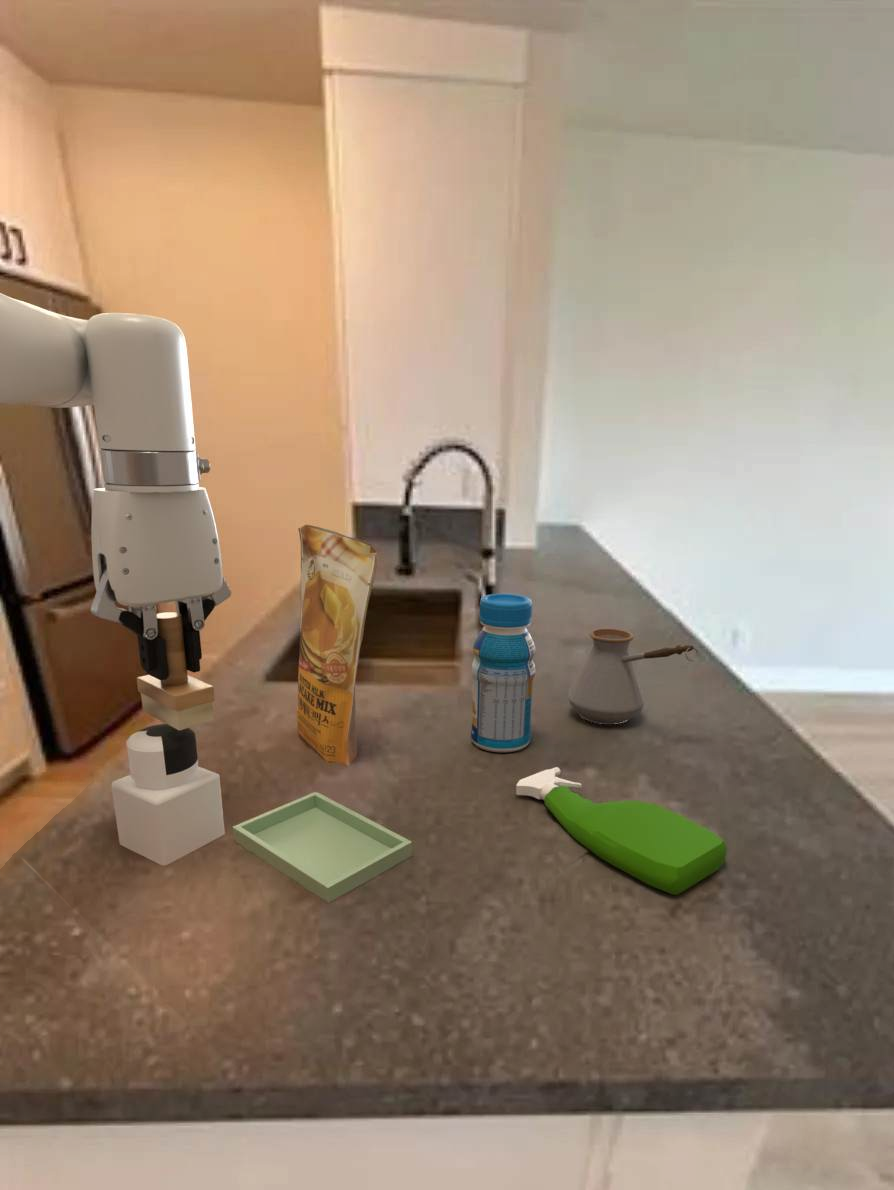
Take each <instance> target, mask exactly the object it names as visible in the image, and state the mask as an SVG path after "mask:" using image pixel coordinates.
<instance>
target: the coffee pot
mask: <svg viewBox="0 0 894 1190" xmlns="http://www.w3.org/2000/svg"><path fill="white" fill-rule="evenodd" d="M589 637H590V638H591V639H592V647H591V649H590V651H589V653H588V655H587V657H586V659H585V660H584V663H583V664H582V667H581V668H580V670H579V672H578V674H577V676H576V678H575V680H574V682H573V683H572V685H571V687H570V689H569V691H568V693H567V699H568V702H569V704H570V706H571V707H572V709H574V711H575V713H577V714H579V717H580V718H581V719H583V720H584V719H585V720H584V721H586V720H588V721H587V722H589V721H591V722H590V723H592V722H595V723H594V724H596V723H602V724H614V723H620V722H623V721H625V720H628V719H630V720H631V719H633V718H635V717H636V716H637V715H638V714H640V713H641V711H642V710H643V708H644V707H645V703H646V700H645V697H644V696H645V695H644V694H643V690H642V687H641V684H640V681H639V677H638V675H637V672H636V670H635V666H634V663H633V662H635V661H639V660H644V659H657V658H668V657H670V656H673V655H682V654H683V653H684V655H685V658H686V660H688V661H689V662H695V661H697V659H698V658H699V651H698V649H697V648H696V647H694V646H693V645H690V644H688V645H687V644H686V645H683V646H682V645H676V646H675V647H662V648H658V649H657V648H656V649H654V650H650V651H645V652H643V653H636V654H630V651H629V647H630V644H631V641H633V640H634V638H635V636H634V634H633V633H632V632H629V631H628V630H624V629H619V628H596V629H593V630H591V631H589ZM693 650H695V652H696V657H695V659H690V658H689V657H688V655H687V654H688V652H691V651H693Z"/></svg>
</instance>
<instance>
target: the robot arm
mask: <svg viewBox="0 0 894 1190" xmlns="http://www.w3.org/2000/svg"><path fill="white" fill-rule="evenodd" d="M189 370H190V369H189V359H188V348H187V342H186V338H185V335H184V333H183V331H182V329H181V328H180V327H179V326H178V324H176V323H175V322H173V321H171V320H168V319H166V318H162V317H158V316H154V315H148V314H139V313H127V312H104V313H99V314H95V315H92V316H91V317H89V319H81V318H78V317H71V316H68V315H67V316H66V315H65V314H64V315H63V314H60V313H57V312H54V311H50V310H47V309H45V308H42V307H39V306H37V305H34V304H31V303H28V302H25V301H23V300H20V299H16V298H12V296H11V297H10V296H8V295H6V294H4V293H2V292H0V404H5V405H15V406H36V407H41V408H57V409H60V408H61V409H63V408H64V409H65V408H66V409H67V408H80V407H89V406H93V410H94V416H95V425H96V431H97V441H98V448H99V455H100V461H101V462H100V464H101V471H102V477H103V487H99V488H97V487H96V488H93V495H92V503H91V504H92V505H91V506H92V507H91V531H90V533H91V537H90V538H91V559H92V561H91V562H92V573H93V581H94V588H95V590H96V592H95V595H94V598H93V601H92V605H91V607H90V613H91V615H92V616H95V617H97V618H100V619H102V620H107V621H110V622H114V623H119V624H121V625H122V626H123V627H125V628H126V629H128V630H129V631H130V632H131V633H132V634H135V635H136V636H137V645H138V652H139V660H140V661H139V662H140V666H141V669H143V670H144V671H145V673H146V675H150V676H152V677H155V678H157V679H159V680H165V679H167V677H169V672H168V663H167V654H166V645H165V640H164V638H161V637H159V633H158V626H157V614H158V612H157V605H158V604H159V605H160V604H165V603H171V602H174V603H175V604H174V605H175V610H176V611H175V612H176V613H180V614H181V616H182V626H183V636H184V645H185V655H186V665H187V671H188V672H190V673H194V674H195V673H198V672H200V671H201V662H200V661H201V660H202V658H203V653H202V652H203V651H202V644H201V634H200V633H201V632H200V631H202V630H203V629H205V626H206V623H205V622H206V620H207V618H208V617H209V616H210V615H211V613H212V612H213V610H214V609H215V607H216V606H219V605H221V604H222V603H223V602H225V601H227V600H228V599H229V598H230V597H231V596H232V590H231V588H230V587H229V585H228V583H227V581H226V579H225V577H224V576H223V575H224V573H223V572H224V571H223V560H222V552H221V546H220V545H221V544H220V539H219V534H218V528H217V524H216V520H215V516H214V512H213V508H212V505H211V501H210V498H209V494H208V492H207V489H206V487H202V486H200V482H201V475H202V474H209V473H210V471H211V463H210V461H209V459H208V458H206V457H204V458H203V457H202V458H201V457H200V456H199V451H196V439H195V438H196V437H195V429H194V428H195V426H194V414H193V404H192V393H191V383H190V382H191V381H190V371H189ZM116 601H117V603H118V604H119V605H122V606H124V607H128V610H127V609H124V608H121V607H117V605H116Z"/></svg>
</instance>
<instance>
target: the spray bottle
mask: <svg viewBox="0 0 894 1190" xmlns="http://www.w3.org/2000/svg"><path fill="white" fill-rule="evenodd" d="M559 775H561V769H560V768H559V767H557V766H556V767H552V768H548V769H544V770H541V771H539V772H536V773H534V774H531V775H529V776H526V777H524V778H521V779H519V780H518V782H517V783H516V785H515V795H516V796H526V797H527V796H528V797H532V798H535V799H537V800H543V801H544V805H545V806H546V807H547V809H548V810H549V811H550V813H551V814H552V815H553V816H554V817H555V818H556V819H557V821H558V822H559V824H560V825H562V827H563V828H564V829H565V830H566V831H567V832H568V833H569V834H570V835H571V837H573V838H574V839H575V840H577V841H578V842H579V843H580V844H581V845H583V846H584V847H585V848H587V849H588V850H589V851H590V852H591V853H593V855H595V856H596V857H598V858H600V859H601V860H603V861H605V862H607V863H608V864H610V865H612V866H613V867H615V868H617V869H618V870H621V871H622V872H625V873H626V874H628V875H629V876H631V877H634V878H635V879H637V880H639V881H641V882H642V883H644V884H646V885H648V886H650V887H652V888H655V889H657V890H660V891H661V892H664V893H667V894H670V895H671V896H672V895H673V896H678V895H679V894H681V893H683V892H684V891H686V890H688V889H689V888H691V887H692V886H694V885H696V884H697V883H699V882H700V881H702V880H704V879H706V878H707V877H709V876H710V875H712V874H714V873H716V872H717V871H718V870H719V869H720V868H721V867H722V866H723V865H724V863H725V862H726V858H727V852H728V851H727V850H728V847H727V844H726V842H725V840H724V839H722V838H721V837H720V836H718V835H717V834H716V833H714V832H713V831H712V830H710V829H708V828H706V827H704V826H703V825H701V824H698V823H697V822H694V821H692V820H690V819H689V818H687V817H685V816H683V815H681V814H678V813H676V812H674V811H672V810H669V809H667V808H665V807H662V806H661V805H659V804H656V803H651V802H646V801H641V800H612V801H606V802H600V803H596V802H593V801H591V800H590V799H589V798H583V797H582V796H581V795H580V794H579V793H577V792H572V791H571V789H570V788H578V789H579V788H582V783H581V782H575V781H571V780H568V779H564V778H562V777H558V776H559Z"/></svg>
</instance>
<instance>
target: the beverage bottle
mask: <svg viewBox="0 0 894 1190" xmlns="http://www.w3.org/2000/svg"><path fill="white" fill-rule="evenodd" d="M532 614H533V602H532V599H530V598H529V597H528V596H525V595H520V594H515V593H492V594H486V595H484V596H482V597H481V598H480V602H479V623H480V624H481V625H482V626H483V627H482V628H481V630H480V631H479V633H478V634H477V636H476V638H475V641H474V643H473V647H472V653H473V654H474V656H475V657H474V659H473V661H472V663H471V669H470V670H471V675H472V719H471V728H470V729H471V730H470V739H471V742H472V744H473V745H475V746H476V747H477V748H480V749H481V750H484V751H487V752H492V753H512V752H513V753H515V752H517V751H520V750H523V749H525V748H526V747H527V746H528V745H529V744H530V742H531V738H532V731H531V722H532V721H531V718H532V703H533V701H532V700H533V687H534V678H535V676H536V665H535V662H534V660H533V659H534V657H535V656H536V655H535V654H536V646H535V642H534V640H533V638H532V636H531V633H530V632H529V630H528V629H527V628H528V627H530V625H531V623H532Z"/></svg>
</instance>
